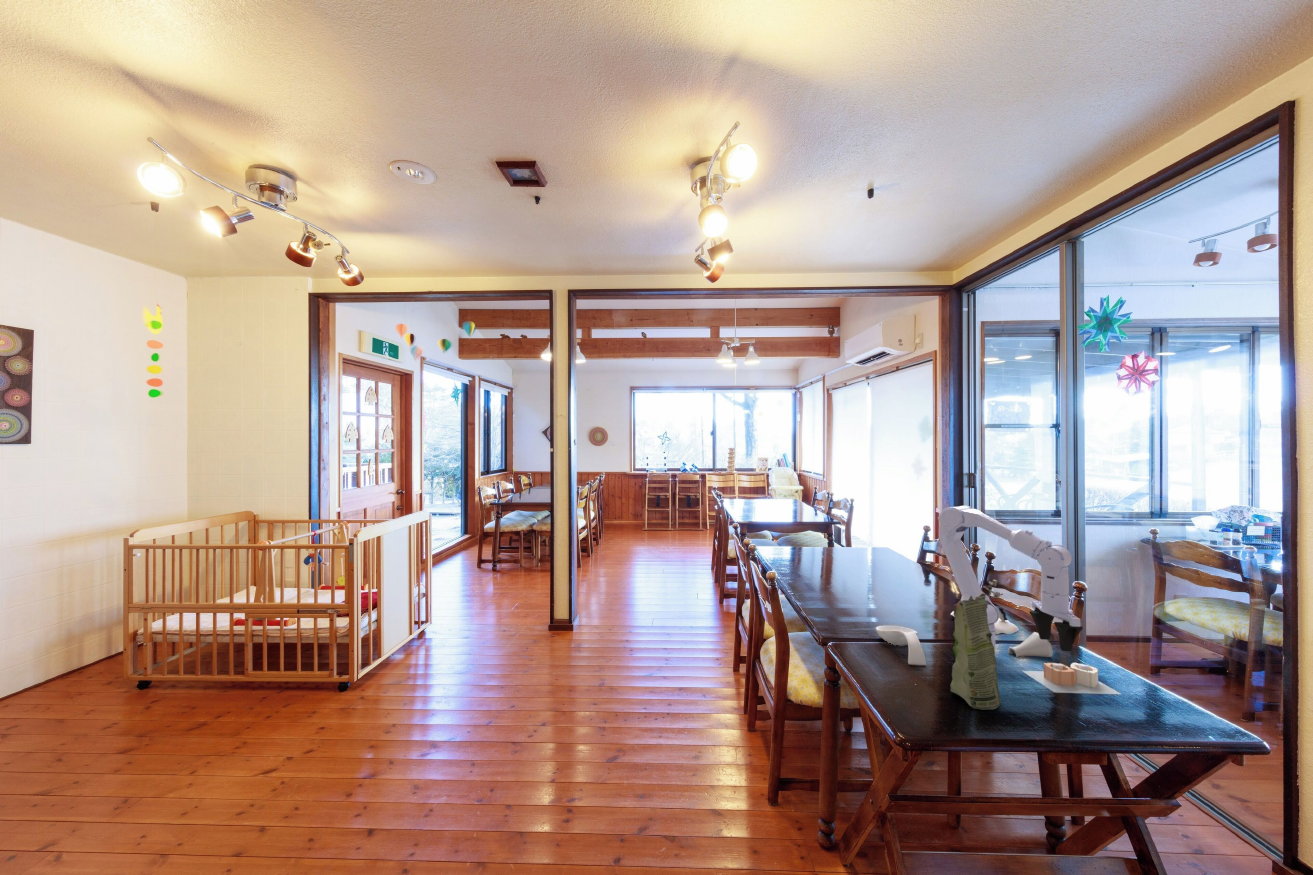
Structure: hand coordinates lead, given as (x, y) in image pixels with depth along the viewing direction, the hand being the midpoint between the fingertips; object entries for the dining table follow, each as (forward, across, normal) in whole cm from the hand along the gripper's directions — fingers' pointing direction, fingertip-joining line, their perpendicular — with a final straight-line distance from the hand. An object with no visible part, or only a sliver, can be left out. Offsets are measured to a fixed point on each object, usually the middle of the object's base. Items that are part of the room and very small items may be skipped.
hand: (1055, 644), depth 131 cm
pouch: (+10, -11, +26) cm, 30 cm away
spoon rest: (+10, +20, +30) cm, 38 cm away
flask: (+6, +17, -8) cm, 20 cm away
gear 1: (+9, -1, 0) cm, 9 cm away
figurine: (+10, +45, -7) cm, 46 cm away
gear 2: (+9, -1, -6) cm, 11 cm away
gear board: (+10, -2, -2) cm, 10 cm away
